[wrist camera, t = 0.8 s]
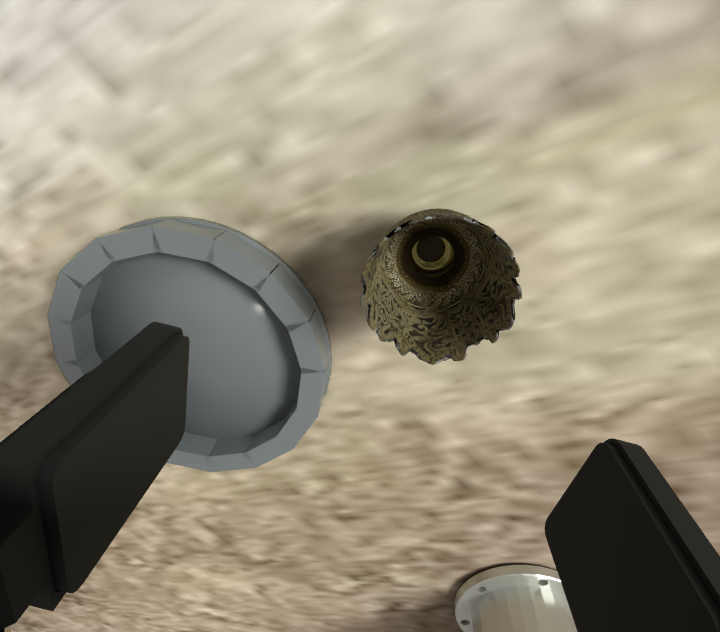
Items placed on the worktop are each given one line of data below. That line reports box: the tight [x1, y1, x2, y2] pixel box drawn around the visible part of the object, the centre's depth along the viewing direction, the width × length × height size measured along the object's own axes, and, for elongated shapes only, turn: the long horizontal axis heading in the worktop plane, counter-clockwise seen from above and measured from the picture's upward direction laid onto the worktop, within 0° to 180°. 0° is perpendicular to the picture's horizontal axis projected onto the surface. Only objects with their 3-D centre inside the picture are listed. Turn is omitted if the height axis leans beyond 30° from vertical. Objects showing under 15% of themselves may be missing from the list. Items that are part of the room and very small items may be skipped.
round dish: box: [48, 217, 332, 472], centre depth 30 cm, size 20×20×3 cm
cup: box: [360, 209, 522, 365], centre depth 23 cm, size 8×7×8 cm
